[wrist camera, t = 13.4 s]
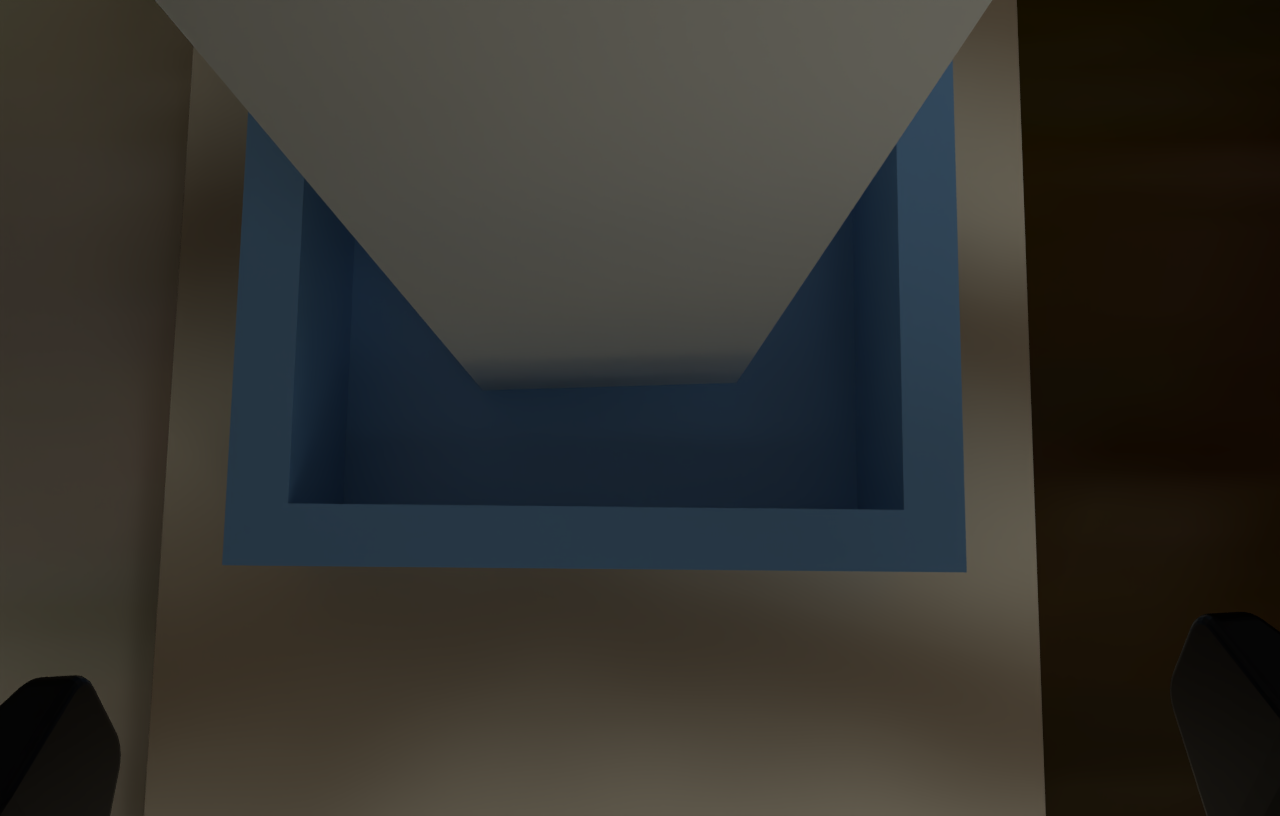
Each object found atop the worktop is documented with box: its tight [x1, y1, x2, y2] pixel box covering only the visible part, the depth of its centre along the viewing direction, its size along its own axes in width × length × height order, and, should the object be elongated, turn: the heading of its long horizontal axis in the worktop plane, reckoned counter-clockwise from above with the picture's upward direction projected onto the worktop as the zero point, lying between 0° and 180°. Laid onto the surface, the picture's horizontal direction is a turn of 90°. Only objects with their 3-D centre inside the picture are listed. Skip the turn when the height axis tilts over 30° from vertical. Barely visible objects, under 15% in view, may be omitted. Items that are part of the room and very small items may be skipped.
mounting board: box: [144, 0, 1046, 816], centre depth 19 cm, size 22×14×1 cm, turn 179°
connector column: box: [155, 0, 992, 390], centre depth 12 cm, size 4×4×13 cm
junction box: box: [222, 60, 967, 572], centre depth 17 cm, size 10×10×4 cm
